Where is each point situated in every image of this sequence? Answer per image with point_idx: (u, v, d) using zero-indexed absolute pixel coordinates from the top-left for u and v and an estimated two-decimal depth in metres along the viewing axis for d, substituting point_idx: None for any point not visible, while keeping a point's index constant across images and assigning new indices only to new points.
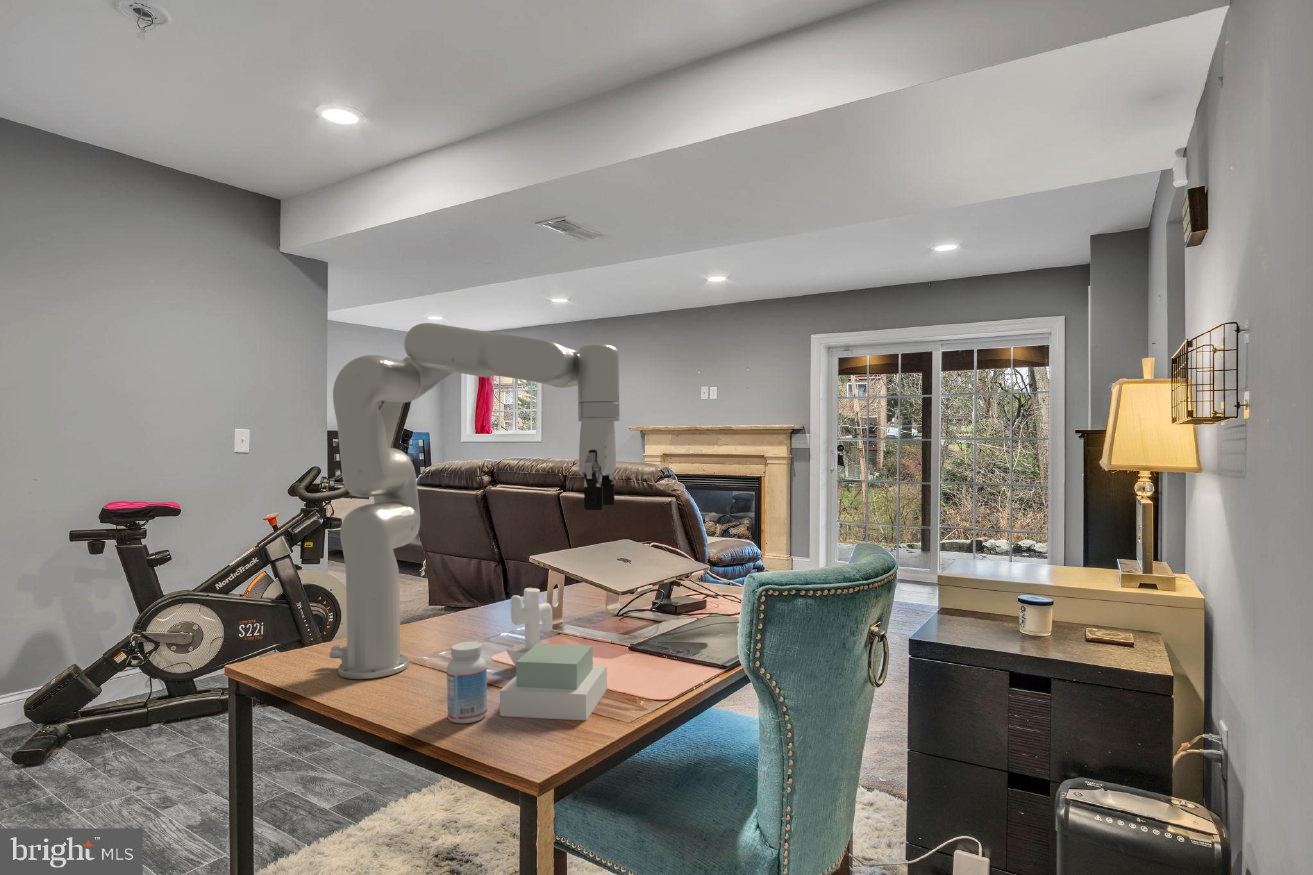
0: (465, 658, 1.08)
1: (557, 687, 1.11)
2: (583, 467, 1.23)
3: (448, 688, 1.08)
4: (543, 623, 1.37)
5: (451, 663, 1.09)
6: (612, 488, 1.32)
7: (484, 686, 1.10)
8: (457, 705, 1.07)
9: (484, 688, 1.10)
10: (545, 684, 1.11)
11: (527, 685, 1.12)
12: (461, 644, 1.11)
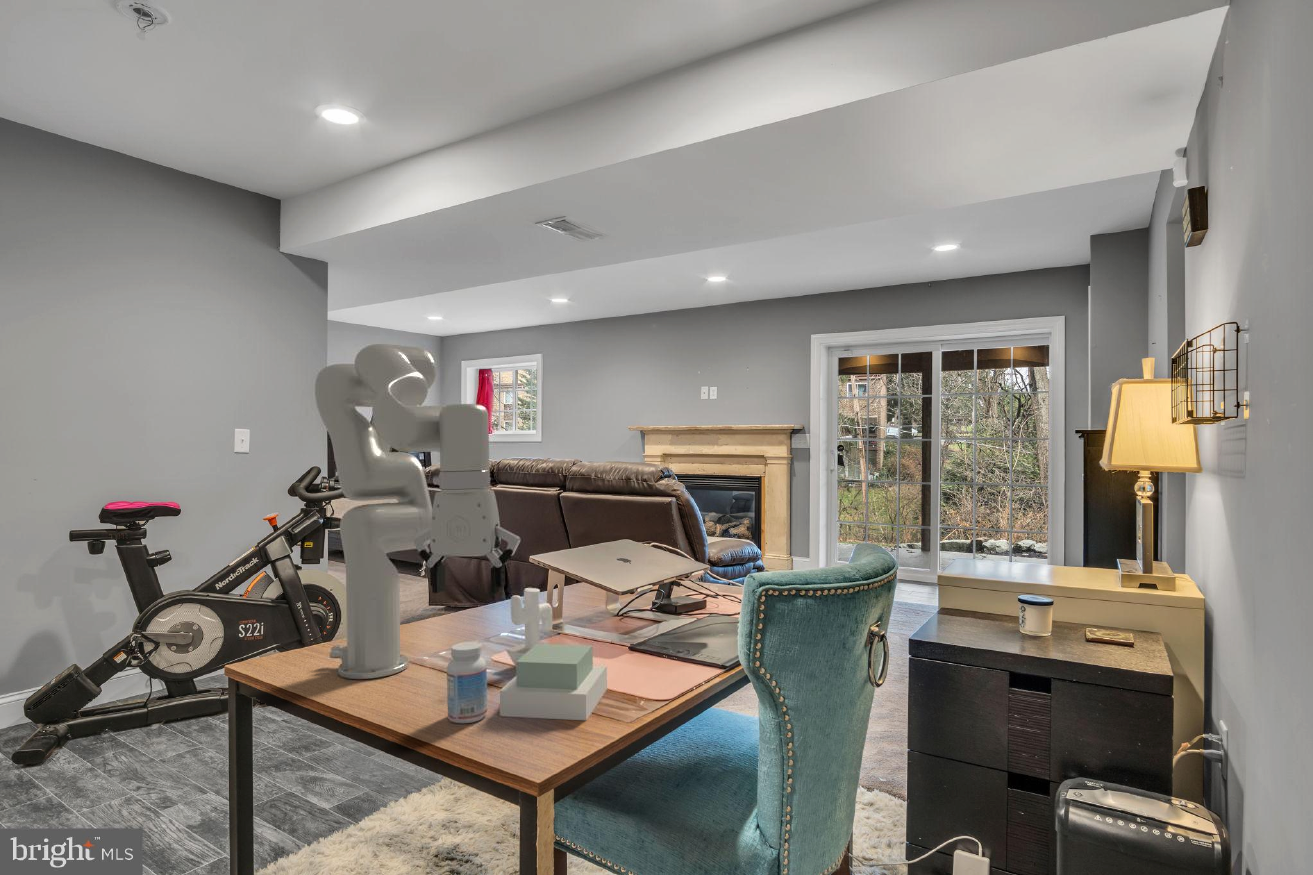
0: (465, 658, 1.08)
1: (557, 687, 1.11)
2: (493, 545, 1.08)
3: (448, 688, 1.08)
4: (543, 623, 1.37)
5: (451, 663, 1.09)
6: None
7: (484, 686, 1.10)
8: (457, 705, 1.07)
9: (485, 688, 1.10)
10: (545, 684, 1.11)
11: (527, 685, 1.12)
12: (461, 644, 1.11)
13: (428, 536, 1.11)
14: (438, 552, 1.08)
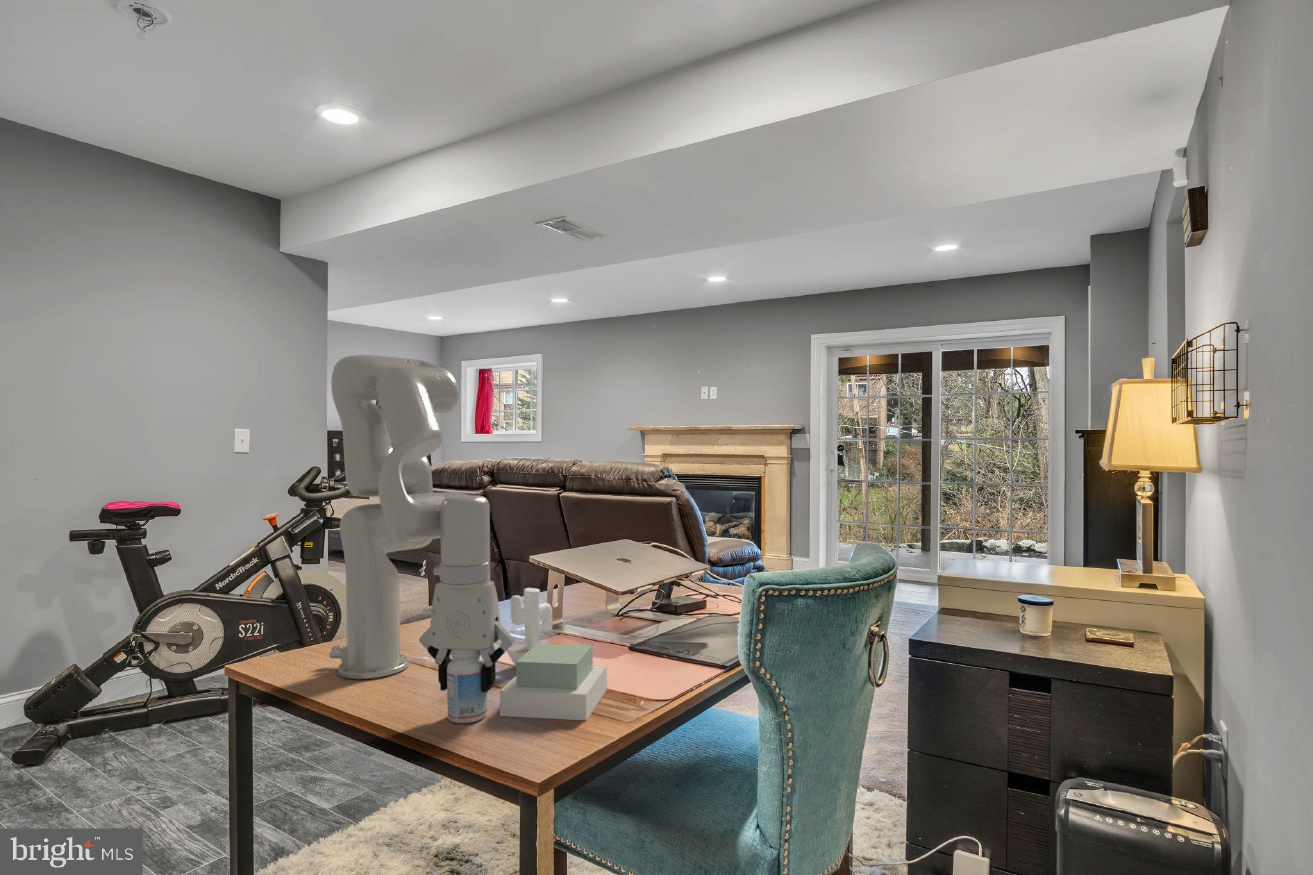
0: (465, 658, 1.08)
1: (557, 687, 1.11)
2: (492, 639, 1.08)
3: (448, 688, 1.08)
4: (543, 623, 1.37)
5: (451, 663, 1.09)
6: None
7: None
8: (457, 705, 1.07)
9: None
10: (545, 684, 1.11)
11: (527, 685, 1.12)
12: None
13: None
14: (438, 645, 1.08)
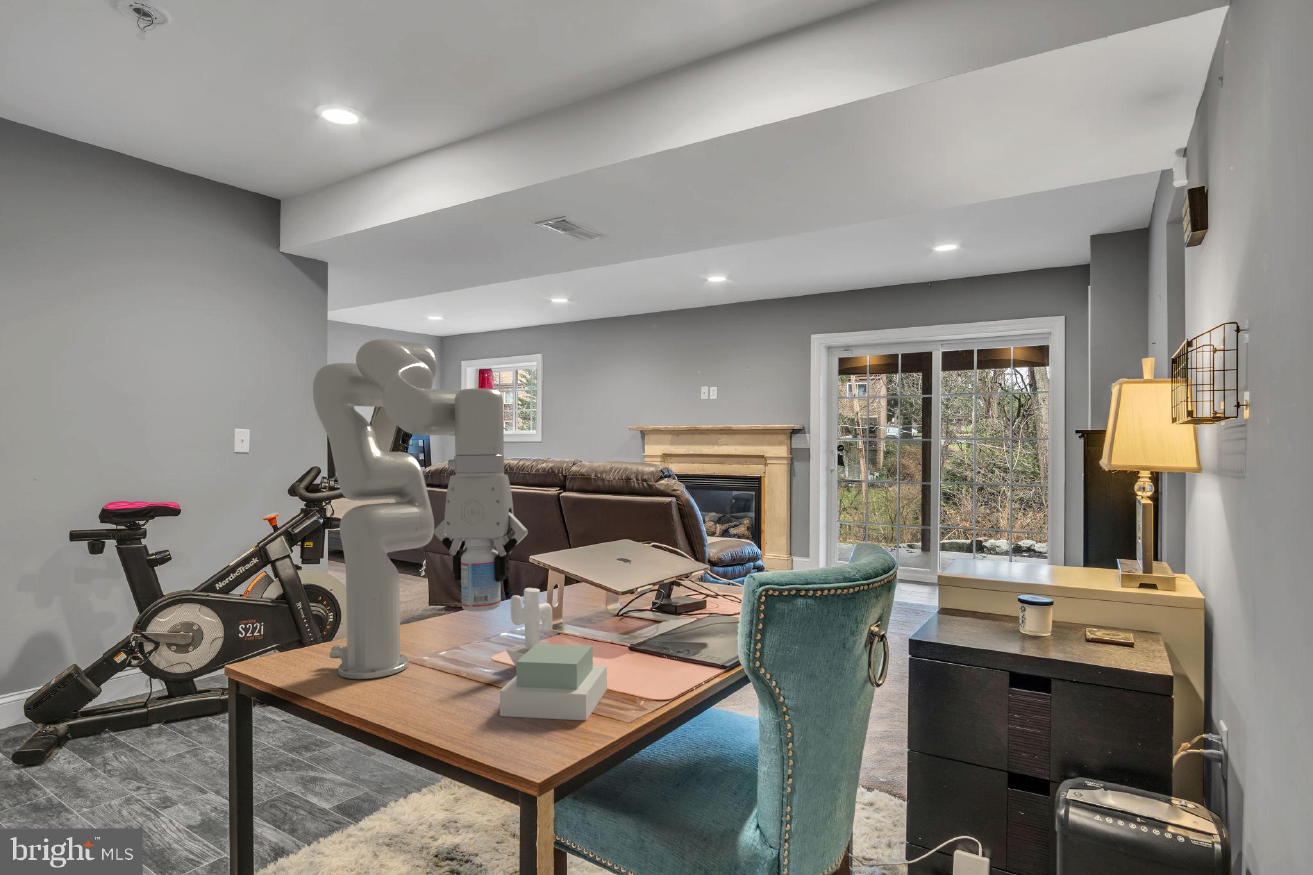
0: (479, 547, 1.09)
1: (557, 687, 1.11)
2: (506, 528, 1.09)
3: (462, 577, 1.09)
4: (543, 623, 1.37)
5: (465, 553, 1.10)
6: None
7: None
8: (471, 593, 1.08)
9: None
10: (545, 684, 1.11)
11: (527, 685, 1.12)
12: None
13: None
14: (452, 535, 1.09)
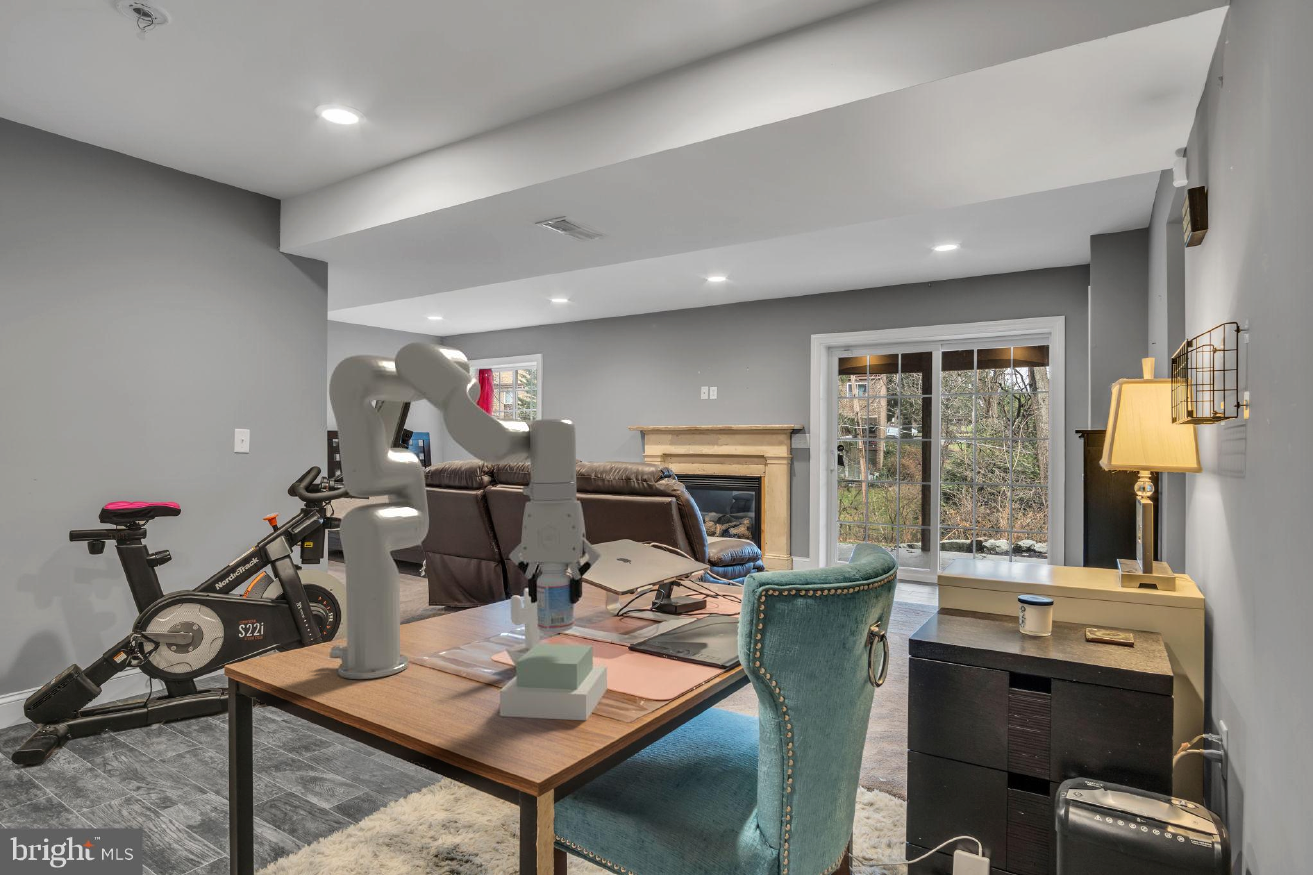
0: (555, 571, 1.14)
1: (557, 687, 1.11)
2: (581, 553, 1.14)
3: (539, 600, 1.14)
4: None
5: (541, 576, 1.15)
6: None
7: None
8: (548, 614, 1.13)
9: None
10: (545, 684, 1.11)
11: (527, 685, 1.12)
12: None
13: None
14: (529, 559, 1.14)
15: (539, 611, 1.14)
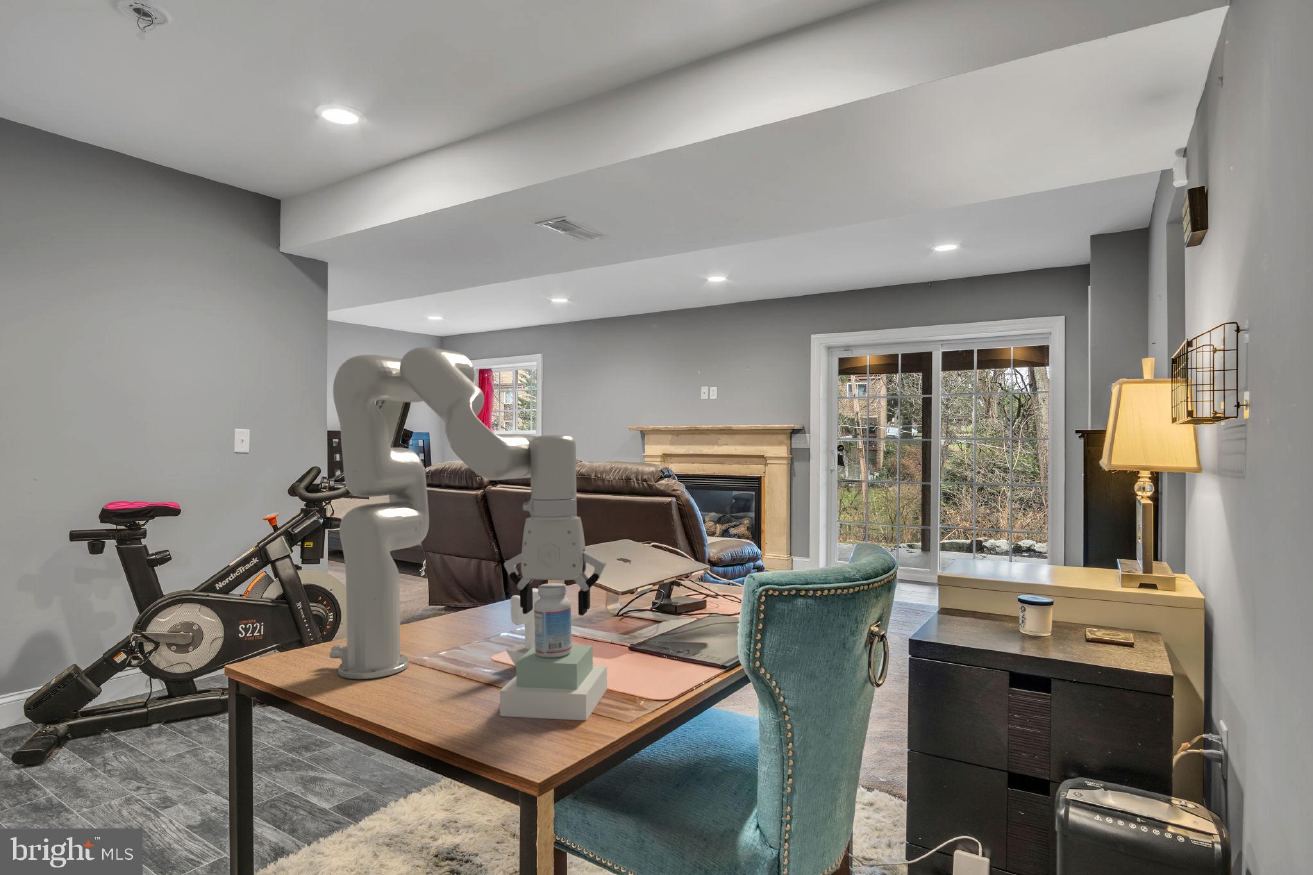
0: (552, 596, 1.14)
1: (557, 687, 1.11)
2: (581, 569, 1.14)
3: (537, 625, 1.14)
4: None
5: (539, 601, 1.15)
6: None
7: (569, 623, 1.16)
8: (546, 640, 1.13)
9: (570, 625, 1.16)
10: (545, 684, 1.11)
11: (527, 685, 1.12)
12: (546, 585, 1.17)
13: (518, 559, 1.17)
14: (529, 575, 1.14)
15: (537, 636, 1.15)
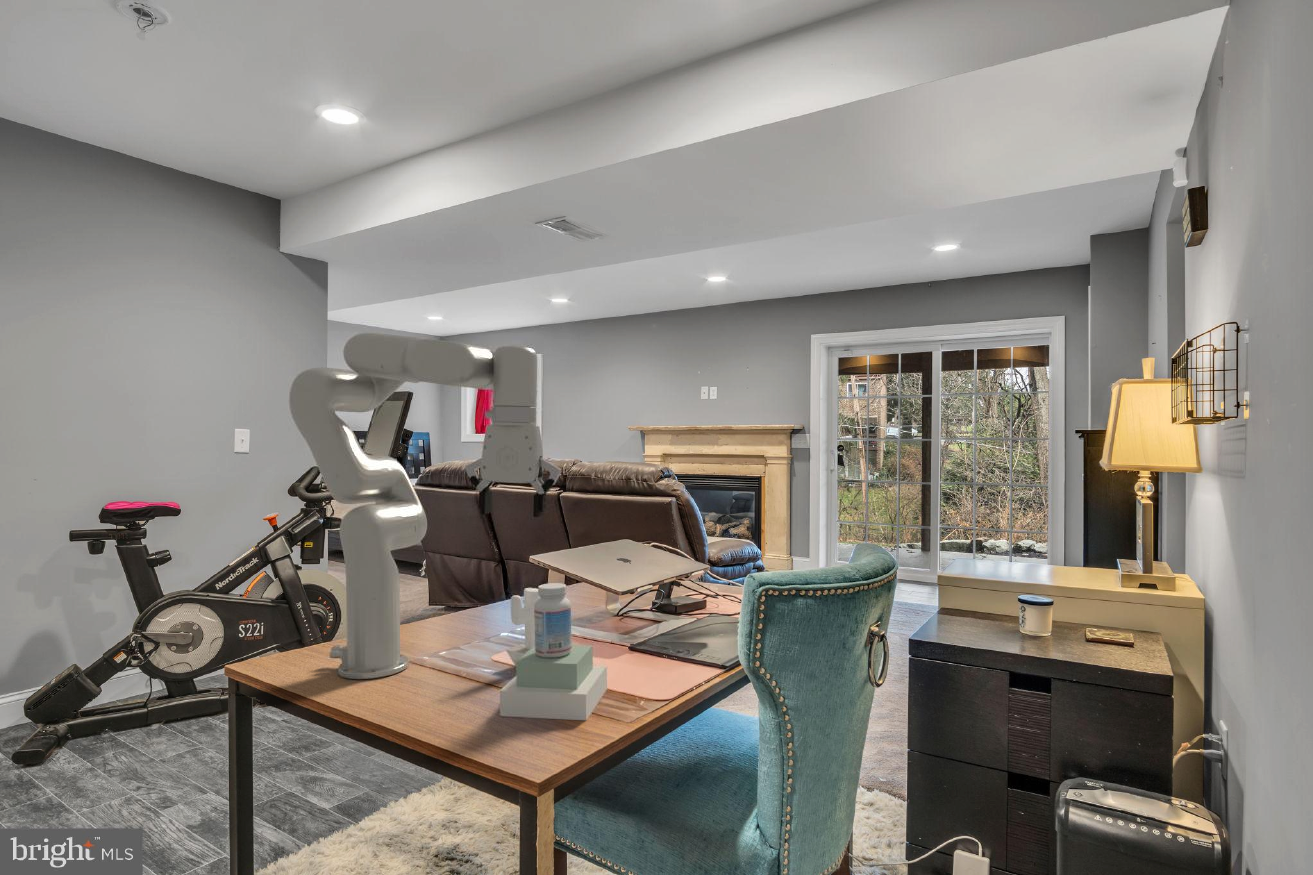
0: (552, 596, 1.14)
1: (557, 687, 1.11)
2: (537, 474, 1.20)
3: (537, 625, 1.14)
4: None
5: (539, 601, 1.15)
6: None
7: (569, 623, 1.16)
8: (546, 640, 1.13)
9: (570, 625, 1.16)
10: (545, 684, 1.11)
11: (527, 685, 1.12)
12: (546, 585, 1.17)
13: (478, 464, 1.23)
14: (488, 478, 1.21)
15: (537, 636, 1.15)
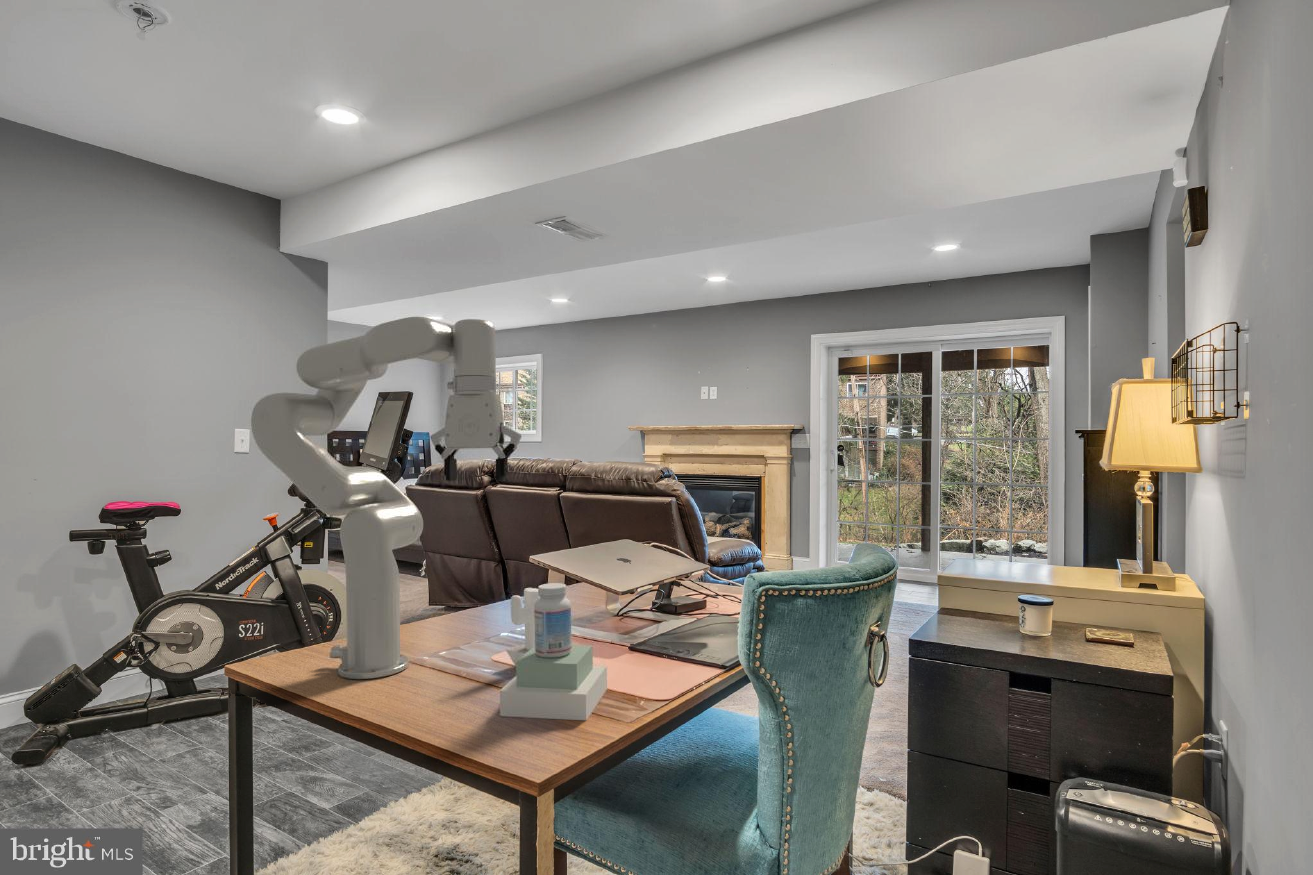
0: (552, 596, 1.14)
1: (557, 687, 1.11)
2: (498, 439, 1.27)
3: (537, 625, 1.14)
4: None
5: (539, 601, 1.15)
6: None
7: (569, 623, 1.16)
8: (546, 640, 1.13)
9: (570, 625, 1.16)
10: (545, 684, 1.11)
11: (527, 685, 1.12)
12: (546, 585, 1.17)
13: (442, 433, 1.30)
14: (451, 445, 1.27)
15: (537, 636, 1.15)
